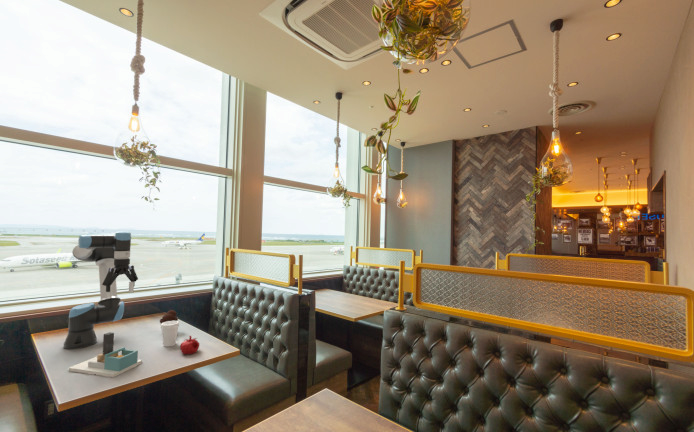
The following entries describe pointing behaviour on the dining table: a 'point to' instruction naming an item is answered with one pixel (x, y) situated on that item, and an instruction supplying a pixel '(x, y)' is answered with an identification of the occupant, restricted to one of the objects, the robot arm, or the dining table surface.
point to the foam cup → (169, 332)
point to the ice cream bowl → (169, 317)
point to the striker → (107, 347)
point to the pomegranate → (189, 346)
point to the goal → (120, 359)
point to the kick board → (98, 368)
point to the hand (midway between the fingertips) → (120, 295)
